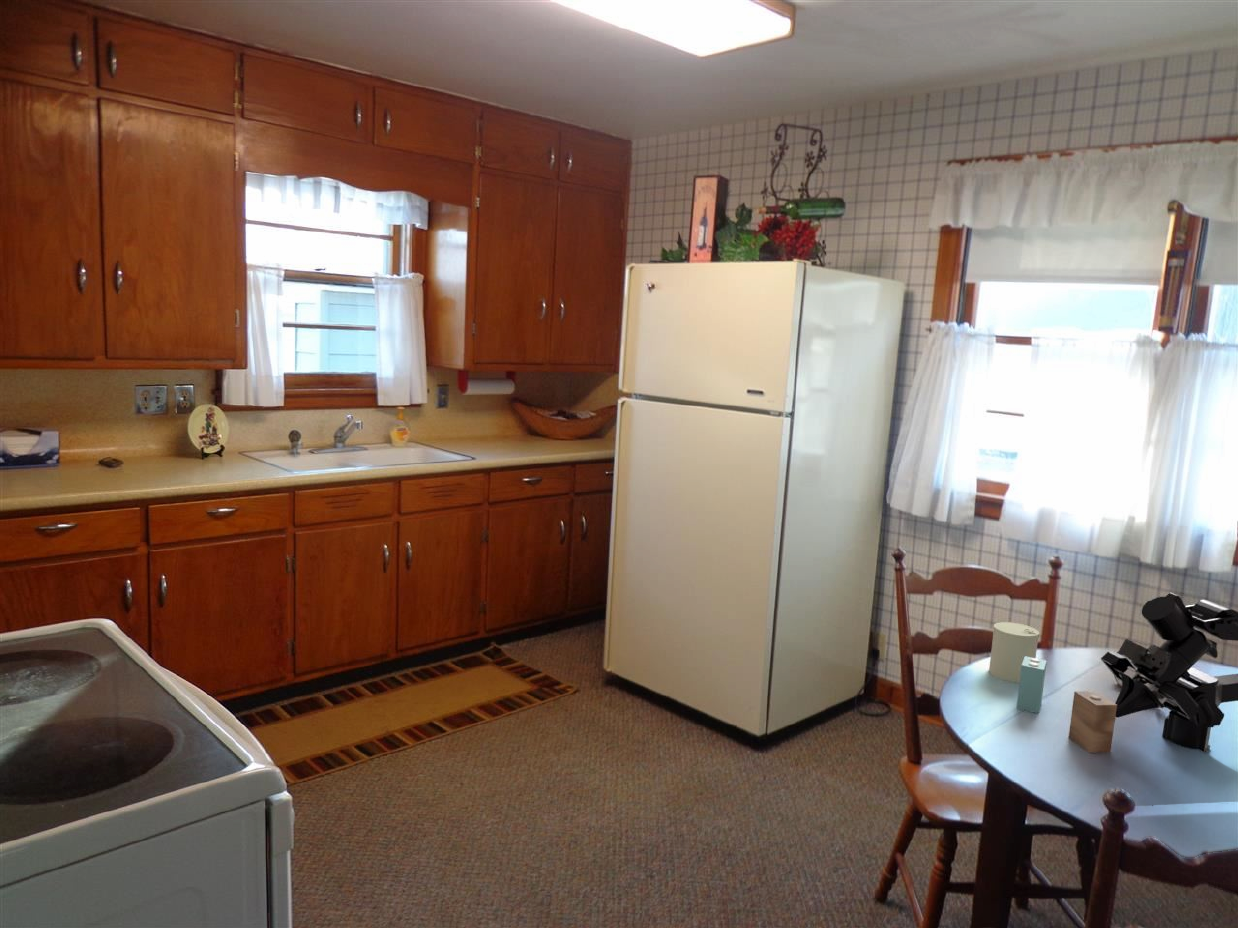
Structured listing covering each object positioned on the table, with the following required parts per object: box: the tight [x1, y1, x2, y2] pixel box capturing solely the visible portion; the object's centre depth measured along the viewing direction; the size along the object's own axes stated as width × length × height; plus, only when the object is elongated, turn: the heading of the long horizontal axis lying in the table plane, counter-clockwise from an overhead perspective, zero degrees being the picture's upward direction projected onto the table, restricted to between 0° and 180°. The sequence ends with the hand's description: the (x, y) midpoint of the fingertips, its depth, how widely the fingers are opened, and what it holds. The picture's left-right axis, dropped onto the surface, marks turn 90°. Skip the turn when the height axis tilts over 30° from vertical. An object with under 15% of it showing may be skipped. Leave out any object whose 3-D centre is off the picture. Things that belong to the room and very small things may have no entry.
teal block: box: [1016, 656, 1048, 714], centre depth 176 cm, size 4×6×9 cm, turn 150°
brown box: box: [1068, 690, 1117, 754], centre depth 160 cm, size 4×6×9 cm, turn 9°
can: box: [988, 621, 1040, 683], centre depth 192 cm, size 9×9×12 cm
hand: (1113, 715), depth 160 cm, fingers closed
